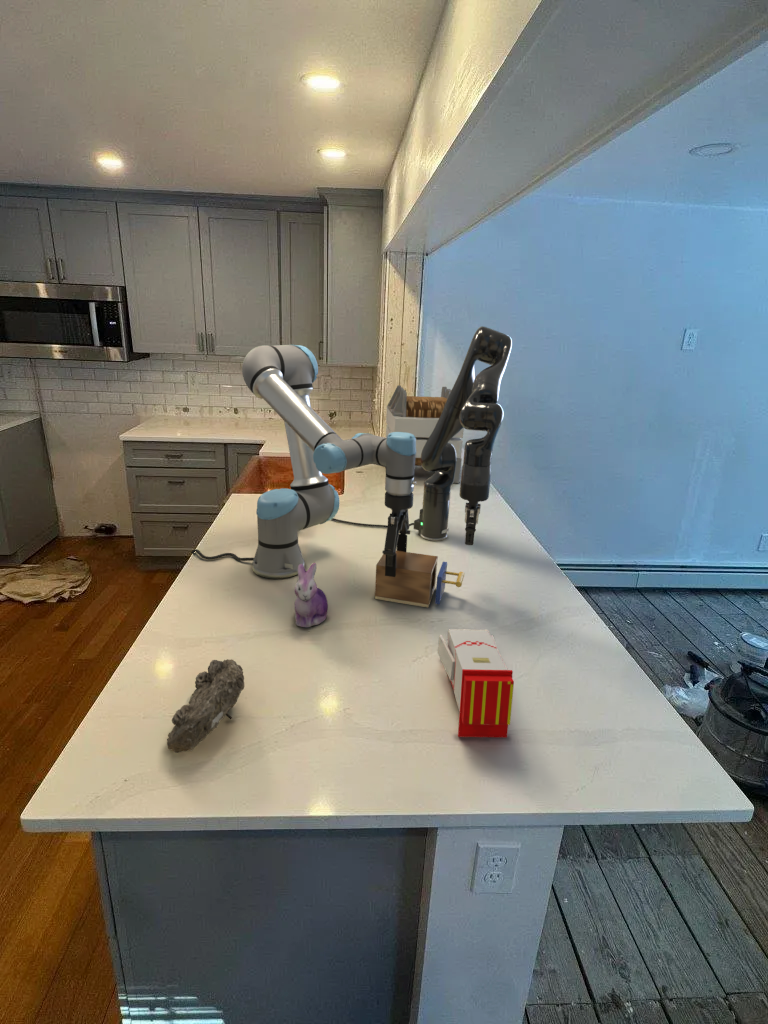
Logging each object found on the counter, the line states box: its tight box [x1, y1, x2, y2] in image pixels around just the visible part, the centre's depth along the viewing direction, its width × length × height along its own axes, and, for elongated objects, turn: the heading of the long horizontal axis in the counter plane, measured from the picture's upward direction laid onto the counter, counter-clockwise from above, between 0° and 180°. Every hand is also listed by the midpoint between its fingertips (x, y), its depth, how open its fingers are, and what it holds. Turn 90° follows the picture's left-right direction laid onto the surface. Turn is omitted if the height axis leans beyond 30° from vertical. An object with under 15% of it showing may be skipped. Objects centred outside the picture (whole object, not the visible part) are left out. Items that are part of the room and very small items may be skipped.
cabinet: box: [374, 550, 439, 608], centre depth 156 cm, size 15×11×10 cm
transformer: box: [385, 384, 465, 484], centre depth 268 cm, size 34×33×41 cm
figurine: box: [293, 562, 329, 628], centre depth 140 cm, size 9×10×15 cm
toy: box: [437, 628, 515, 738], centre depth 117 cm, size 12×13×30 cm
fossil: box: [166, 658, 245, 754], centre depth 106 cm, size 22×10×15 cm
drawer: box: [429, 561, 465, 605], centre depth 155 cm, size 19×10×8 cm, turn 76°
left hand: (395, 565), depth 156 cm, fingers open, 13 cm apart
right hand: (469, 538), depth 151 cm, fingers open, 8 cm apart
